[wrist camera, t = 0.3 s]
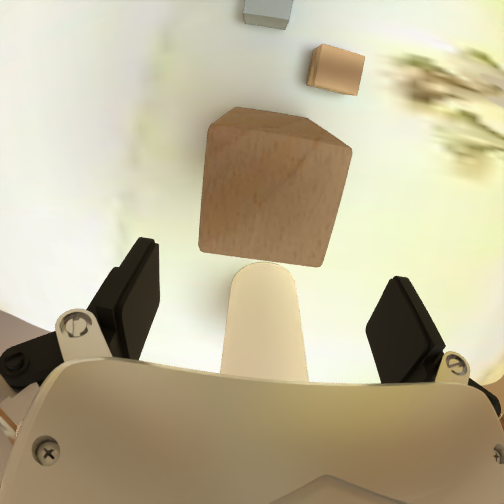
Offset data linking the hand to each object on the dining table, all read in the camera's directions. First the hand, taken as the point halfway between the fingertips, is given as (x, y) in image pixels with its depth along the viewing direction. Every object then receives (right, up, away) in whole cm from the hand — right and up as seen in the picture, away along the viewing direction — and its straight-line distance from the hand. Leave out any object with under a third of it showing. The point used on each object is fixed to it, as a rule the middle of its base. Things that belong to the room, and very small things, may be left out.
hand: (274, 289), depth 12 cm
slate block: (+1, +32, +17) cm, 36 cm away
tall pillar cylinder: (+1, -5, +39) cm, 39 cm away
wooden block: (+1, +15, +27) cm, 31 cm away
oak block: (+9, +24, +21) cm, 33 cm away
